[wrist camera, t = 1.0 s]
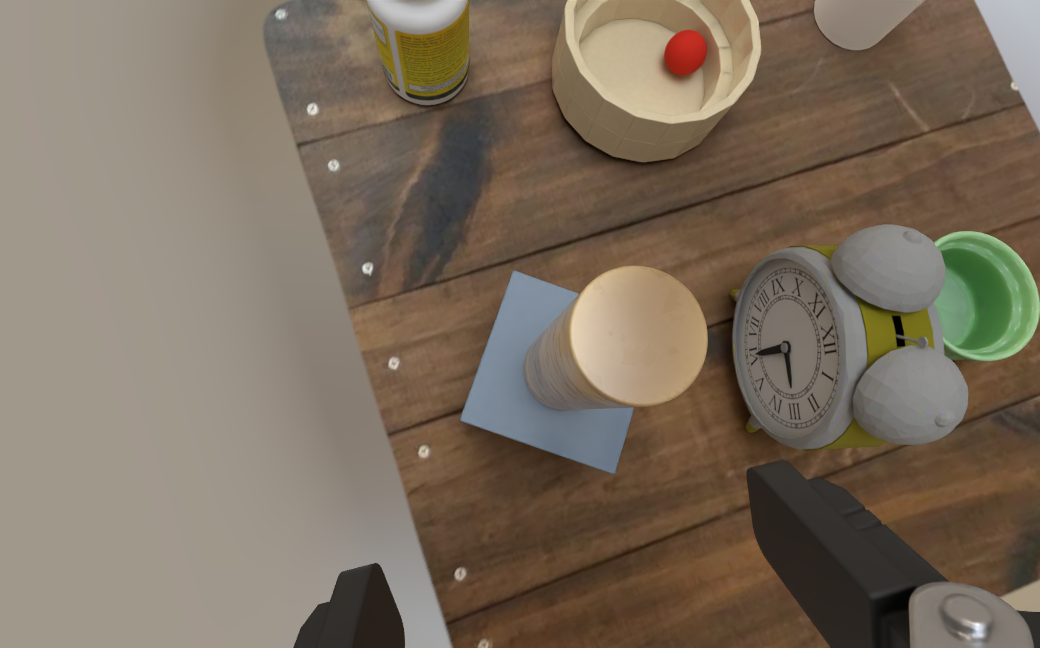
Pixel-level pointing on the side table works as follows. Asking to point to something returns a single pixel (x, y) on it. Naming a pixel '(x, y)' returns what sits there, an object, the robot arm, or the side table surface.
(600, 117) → the bowl
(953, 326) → the ramekin
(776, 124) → the side table surface
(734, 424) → the side table surface
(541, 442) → the upright slate-blue block
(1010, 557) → the side table surface
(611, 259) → the side table surface
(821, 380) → the alarm clock
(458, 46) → the pill bottle
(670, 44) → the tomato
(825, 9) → the candle
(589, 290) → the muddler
